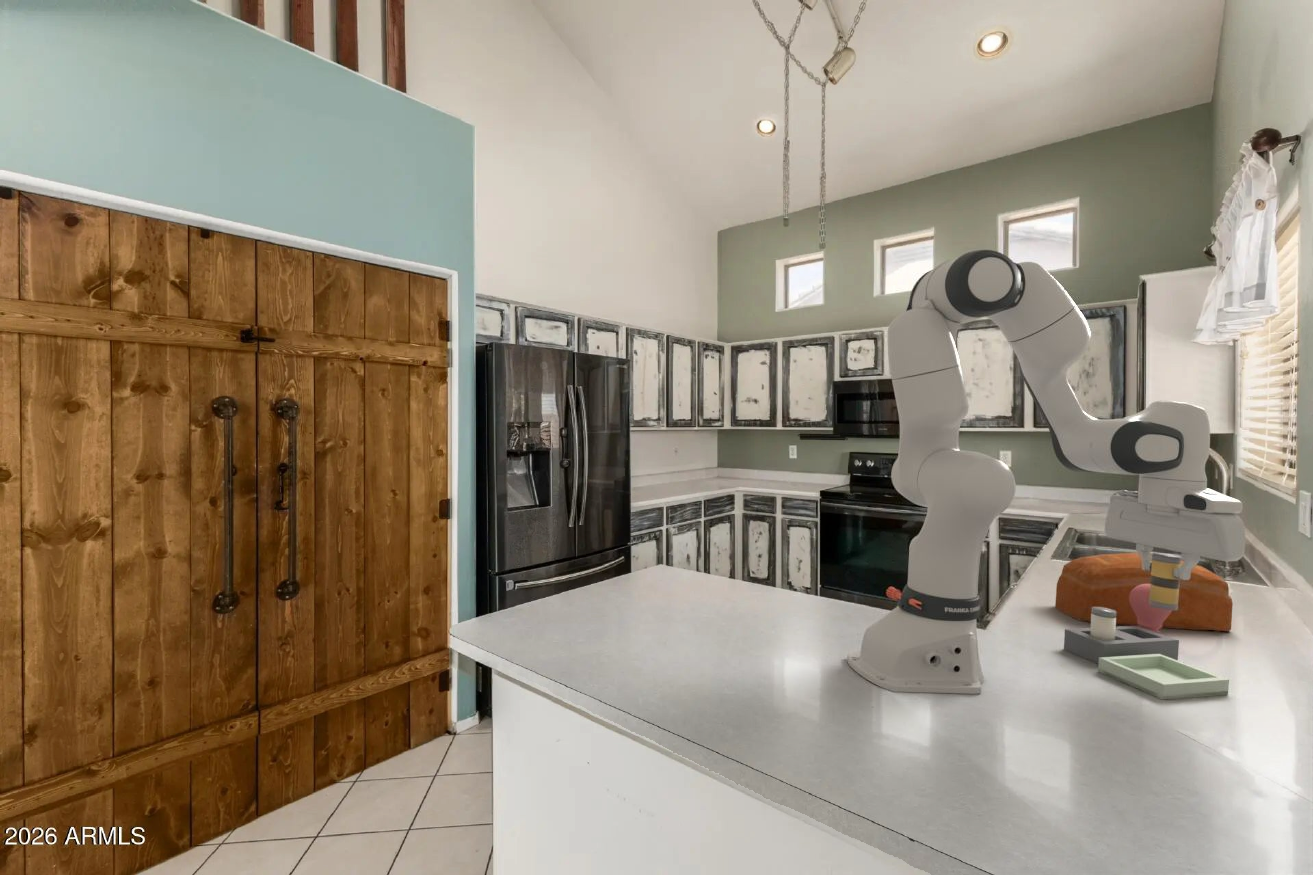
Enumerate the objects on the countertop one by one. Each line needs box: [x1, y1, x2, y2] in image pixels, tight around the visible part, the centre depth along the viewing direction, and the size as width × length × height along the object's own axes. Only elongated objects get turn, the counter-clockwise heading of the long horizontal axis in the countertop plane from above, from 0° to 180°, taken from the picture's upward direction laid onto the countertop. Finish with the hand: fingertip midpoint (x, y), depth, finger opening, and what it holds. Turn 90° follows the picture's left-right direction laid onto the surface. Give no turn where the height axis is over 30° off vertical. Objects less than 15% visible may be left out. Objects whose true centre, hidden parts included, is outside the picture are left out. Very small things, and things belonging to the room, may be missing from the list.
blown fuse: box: [1149, 552, 1182, 610], centre depth 102 cm, size 4×4×9 cm
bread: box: [1055, 552, 1233, 632], centre depth 138 cm, size 14×33×16 cm, turn 84°
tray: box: [1097, 654, 1230, 701], centre depth 102 cm, size 14×11×2 cm
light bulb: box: [1129, 584, 1172, 633], centre depth 123 cm, size 7×7×12 cm
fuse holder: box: [1063, 625, 1180, 665], centre depth 114 cm, size 18×8×4 cm, turn 103°
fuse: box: [1090, 607, 1117, 641], centre depth 113 cm, size 4×4×9 cm
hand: (1165, 574), depth 102 cm, fingers closed on blown fuse, 4 cm apart
